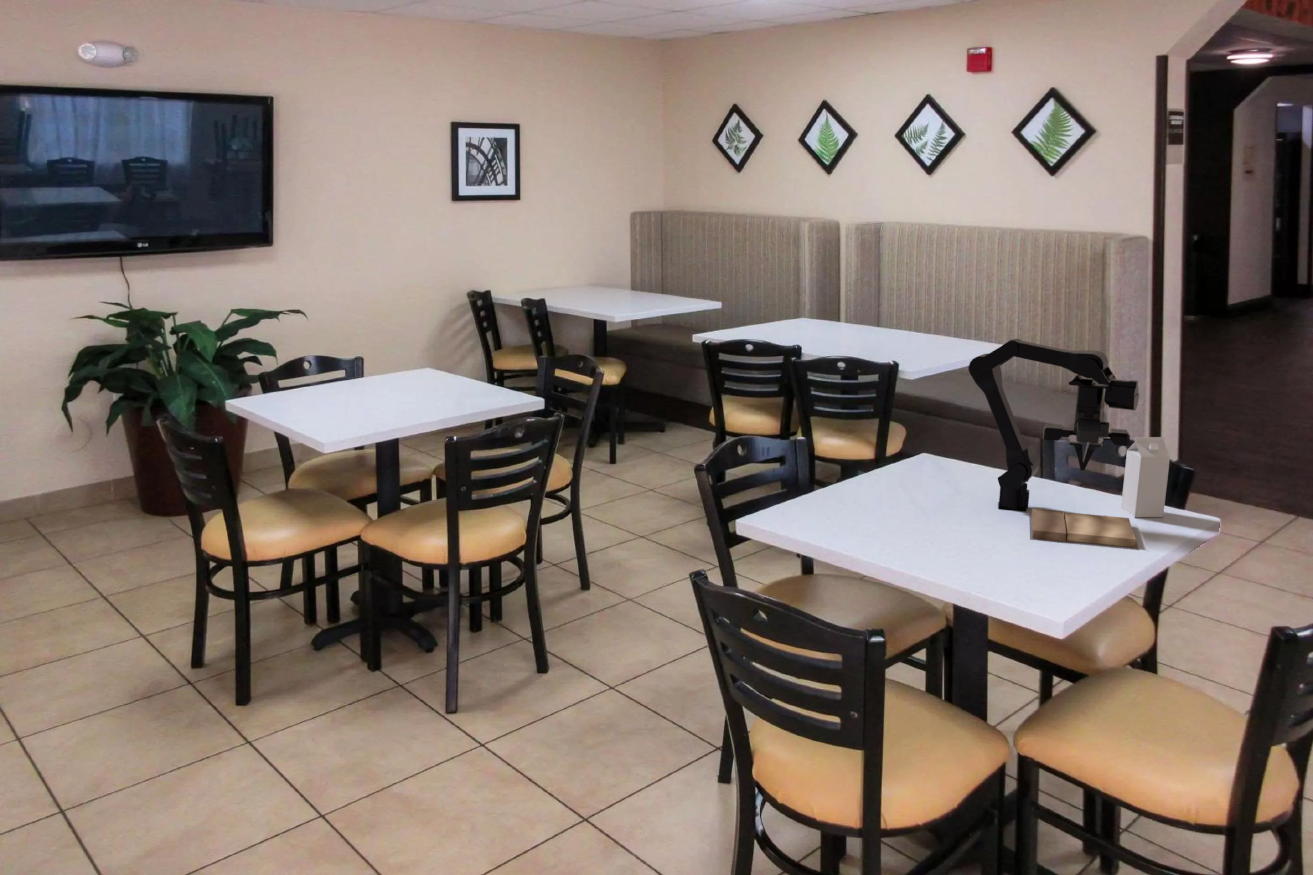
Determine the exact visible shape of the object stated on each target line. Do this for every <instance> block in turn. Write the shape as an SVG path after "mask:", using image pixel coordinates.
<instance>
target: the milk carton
mask: <svg viewBox="0 0 1313 875" xmlns="http://www.w3.org/2000/svg"><path fill="white" fill-rule="evenodd" d="M1170 460H1171V456H1170V454H1169V450H1168V448H1167V446H1166V443H1165V437H1164V436H1156V437H1155V436H1153V437H1152V436H1149V437H1148V436H1147V437H1143V436H1142V437H1141V436H1139V437H1137V436H1136V437H1135V438H1134V442H1133V443H1132V444H1131V446H1129V448H1128V449H1127V450H1126V459H1125V465H1124V466H1125V468H1124V476H1123V478H1124V479H1123V485H1122V486H1123V487H1122V495H1121V496H1122V497H1121V503H1120V504H1121V505H1120V509H1121V508H1122V509H1121V510H1123V511H1125V512H1126V511H1127V512H1126V513H1128V514H1129V515H1131V514H1132V516H1133V517H1134V516H1135V517H1134V518H1163V517H1164V515H1165V514H1164V513H1165V504H1166V495H1167V488H1168V487H1167V486H1168V478H1169V477H1168V476H1169V468H1170Z"/></svg>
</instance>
